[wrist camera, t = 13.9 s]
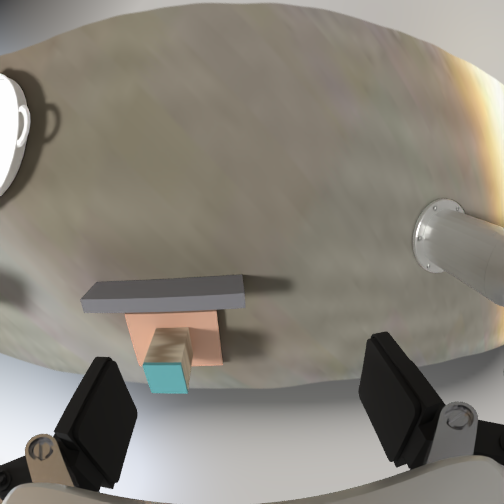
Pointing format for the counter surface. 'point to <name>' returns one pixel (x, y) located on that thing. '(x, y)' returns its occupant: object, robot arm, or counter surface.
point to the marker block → (169, 360)
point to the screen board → (165, 295)
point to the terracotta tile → (198, 322)
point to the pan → (12, 130)
